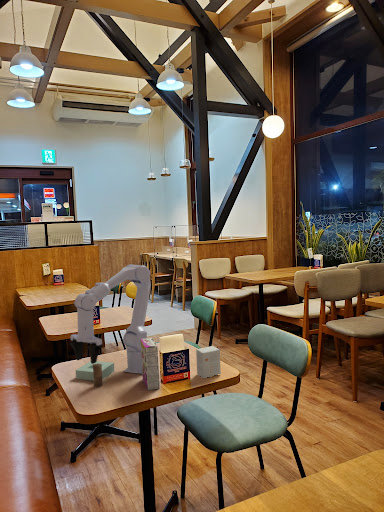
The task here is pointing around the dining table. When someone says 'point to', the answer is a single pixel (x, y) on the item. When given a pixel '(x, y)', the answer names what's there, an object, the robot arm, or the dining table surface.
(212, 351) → the small box
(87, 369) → the socket block
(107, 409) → the dining table surface
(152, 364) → the candy bar box
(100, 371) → the walnut peg
